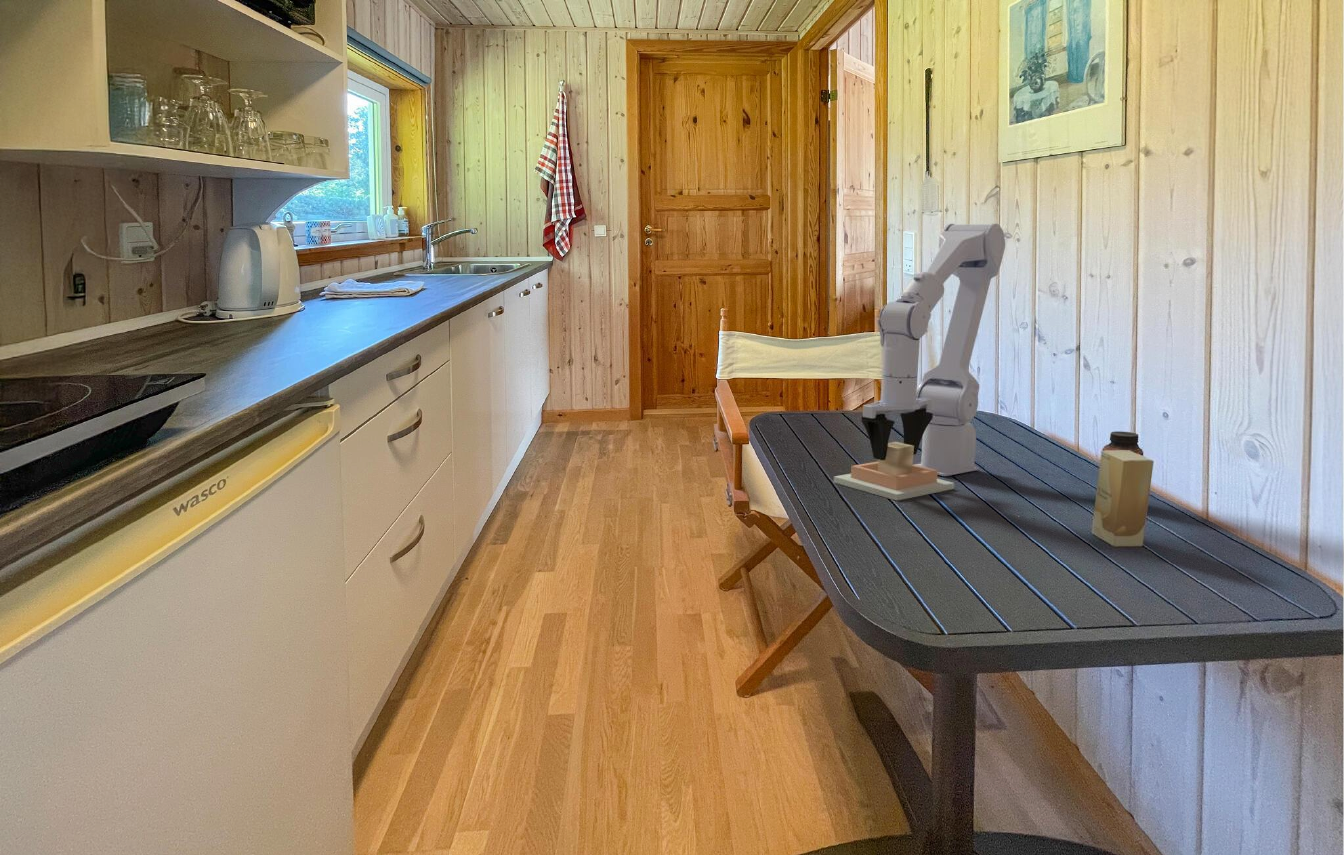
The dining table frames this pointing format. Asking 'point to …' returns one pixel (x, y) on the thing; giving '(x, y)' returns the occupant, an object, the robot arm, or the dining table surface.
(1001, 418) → the dining table surface
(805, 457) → the dining table surface
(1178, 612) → the dining table surface
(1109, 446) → the supplement bottle
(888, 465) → the maple peg
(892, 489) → the collar board
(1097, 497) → the skincare box
